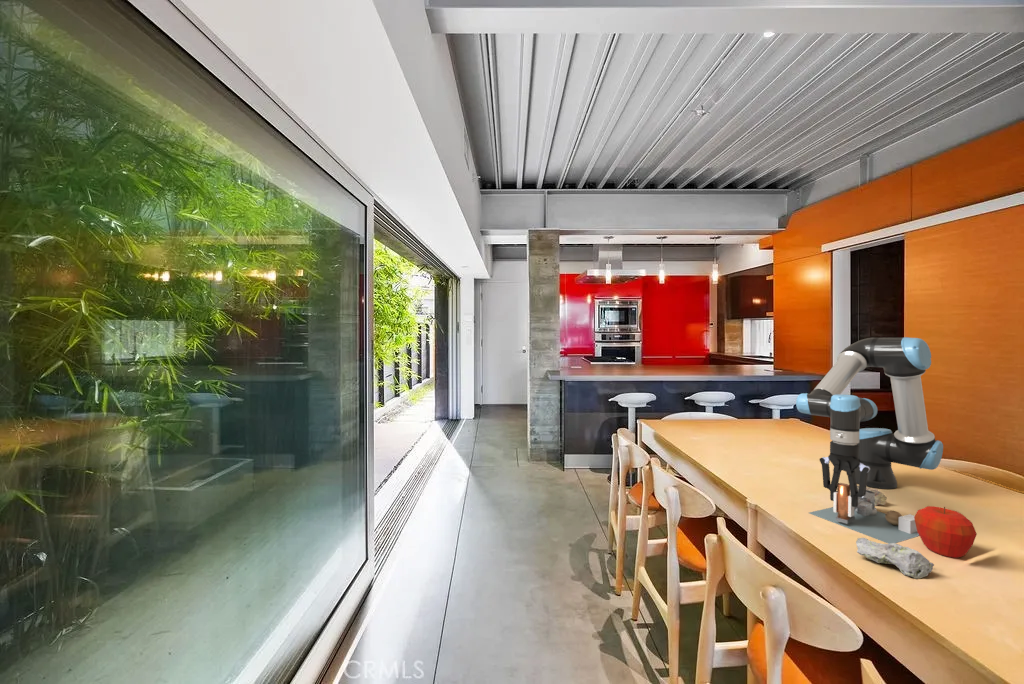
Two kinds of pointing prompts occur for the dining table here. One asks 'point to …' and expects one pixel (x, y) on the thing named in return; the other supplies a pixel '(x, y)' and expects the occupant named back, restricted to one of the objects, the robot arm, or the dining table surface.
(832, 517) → the board
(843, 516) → the lever
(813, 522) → the dining table surface
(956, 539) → the apple
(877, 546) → the mineral specimen
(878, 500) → the rock
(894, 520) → the light brown ball
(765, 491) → the dining table surface
